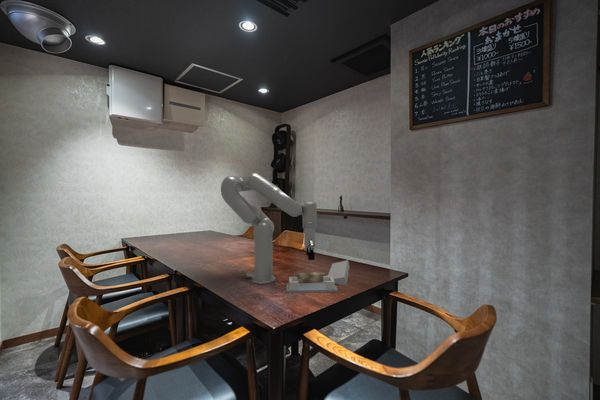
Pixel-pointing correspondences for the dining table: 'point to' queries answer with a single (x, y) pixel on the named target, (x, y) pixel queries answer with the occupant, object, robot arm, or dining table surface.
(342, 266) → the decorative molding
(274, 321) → the dining table surface
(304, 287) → the cradle
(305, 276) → the slat
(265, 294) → the dining table surface
